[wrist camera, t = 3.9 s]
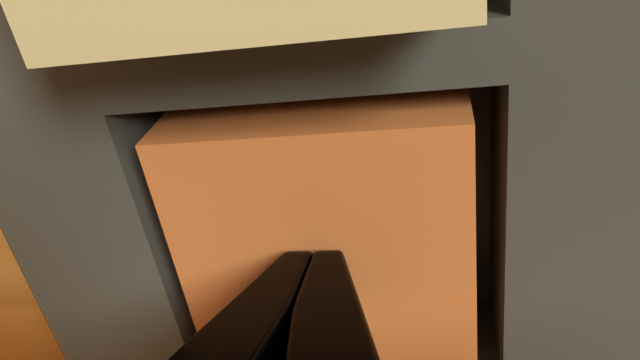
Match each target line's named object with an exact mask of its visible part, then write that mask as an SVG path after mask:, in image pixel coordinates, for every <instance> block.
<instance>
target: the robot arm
mask: <svg viewBox="0 0 640 360" xmlns="http://www.w3.org/2000/svg"><path fill="white" fill-rule="evenodd" d="M167 360H380V358H379V355H378V352H377V349H376V346H375V343H374V340H373V337H372V335H371V332H370V329H369V326H368V323H367V320H366V317H365V314H364V312H363V309H362V306H361V303H360V300H359V297H358V294H357V291H356V288H355V286H354V283H353V280H352V277H351V274H350V271H349V268H348V265H347V263H346V260H345V257H344V254H343V252H342V251H340V250H319V251H316V252H314V254H313V253H312V252H311V251H287V252H285V253H283V254H282V255H281V256H280V257H278V258H277V259H276V260H275V261H274V262H273V263H272V264H271V265H270V266H269V267H268V268H266V269H265V270H264V271H263V272H262V273H261V274H260V275H259V276H258V277H257V278H255V279H254V280H253V281H252V282H251V283H250V284H249V285H248V286H247V287H246V288H245V289H243V290H242V291H241V292H240V293H239V294H238V295H237V296H236V297H235V298H234V299H233V300H231V301H230V302H229V303H228V304H227V305H226V306H225V307H224V308H223V309H222V310H221V311H219V312H218V313H217V314H216V315H215V316H214V317H213V318H212V319H211V320H210V321H209V322H207V323H206V324H205V325H204V326H203V327H202V328H201V329H200V330H199V331H198V332H197V333H195V334H194V335H193V336H192V337H191V338H190V339H189V340H188V341H187V342H186V343H185V344H183V345H182V346H181V347H180V348H179V349H178V350H177V351H176V352H175V353H174V354H173V355H171V356H170V357H169V358H168V359H167Z"/></svg>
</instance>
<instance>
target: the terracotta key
mask: <svg viewBox="0 0 640 360" xmlns="http://www.w3.org/2000/svg"><path fill="white" fill-rule="evenodd" d="M135 148H136V151H137V154H138V157H139V160H140V163H141V166H142V169H143V172H144V175H145V178H146V181H147V184H148V187H149V190H150V193H151V196H152V199H153V202H154V205H155V208H156V211H157V214H158V217H159V220H160V223H161V226H162V229H163V232H164V235H165V238H166V241H167V244H168V247H169V250H170V253H171V256H172V259H173V262H174V265H175V268H176V271H177V274H178V277H179V280H180V283H181V286H182V289H183V292H184V295H185V298H186V301H187V304H188V307H189V310H190V313H191V316H192V319H193V322H194V325H195V328H196V331H197V332H198V331H199V330H200V329H201V328H202V327H203V326H204V325H205V324H206V323H207V322H209V321H210V320H211V319H212V318H213V317H214V316H215V315H216V314H217V313H218V312H219V311H221V310H222V309H223V308H224V307H225V306H226V305H227V304H228V303H229V302H230V301H231V300H233V299H234V298H235V297H236V296H237V295H238V294H239V293H240V292H241V291H242V290H243V289H245V288H246V287H247V286H248V285H249V284H250V283H251V282H252V281H253V280H254V279H255V278H257V277H258V276H259V275H260V274H261V273H262V272H263V271H264V270H265V269H266V268H268V267H269V266H270V265H271V264H272V263H273V262H274V261H275V260H276V259H277V258H278V257H280V256H281V255H282V254H283V253H285V252H287V251H311V252H312V253H313V254H314V252H316V251H319V250H340V251H342V252H343V254H344V257H345V260H346V263H347V265H348V268H349V271H350V274H351V277H352V280H353V283H354V286H355V288H356V291H357V294H358V297H359V300H360V303H361V306H362V309H363V312H364V314H365V317H366V320H367V323H368V326H369V329H370V332H371V335H372V337H373V340H374V343H375V346H376V349H377V352H378V355H379V358H380V360H477V273H476V173H475V122H474V116H473V111H472V106H471V100H470V95H469V90H468V88H461V89H448V90H434V91H421V92H408V93H395V94H382V95H369V96H355V97H342V98H329V99H316V100H303V101H290V102H276V103H263V104H250V105H237V106H224V107H210V108H197V109H184V110H171V111H166V112H165V113H164V114H163V115H162V116H161V118H160V119H159V120H158V121H157V122H156V123H155V124H154V125H153V126H152V128H151V129H150V130H149V131H148V132H147V133H146V134H145V135H144V136H143V138H142V139H141V140H140V141H139V142H138V143H137V144H136V145H135Z"/></svg>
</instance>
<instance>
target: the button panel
mask: <svg viewBox="0 0 640 360" xmlns="http://www.w3.org/2000/svg"><path fill="white" fill-rule="evenodd" d="M461 88H468V90H469V95H470V100H471V106H472V111H473V116H474V122H475V173H476V273H477V360H640V0H487V25H482V26H472V27H462V28H451V29H441V30H430V31H420V32H409V33H399V34H389V35H378V36H368V37H357V38H347V39H336V40H326V41H315V42H305V43H295V44H284V45H274V46H263V47H253V48H242V49H232V50H221V51H211V52H201V53H190V54H180V55H169V56H159V57H148V58H138V59H127V60H117V61H107V62H96V63H86V64H75V65H65V66H54V67H44V68H33V69H27V67H26V65H25V63H24V60H23V58H22V55H21V53H20V50H19V48H18V45H17V43H16V40H15V38H14V35H13V33H12V30H11V28H10V25H9V23H8V21H7V18H6V16H5V13H4V11H3V8H2V6H1V3H0V228H1V230H2V232H3V234H4V236H5V238H6V240H7V242H8V244H9V246H10V248H11V250H12V252H13V254H14V256H15V258H16V260H17V262H18V264H19V267H20V269H21V271H22V273H23V275H24V277H25V279H26V281H27V283H28V285H29V287H30V289H31V291H32V293H33V295H34V297H35V299H36V301H37V303H38V305H39V307H40V309H41V311H42V313H43V315H44V317H45V319H46V321H47V323H48V325H49V327H50V329H51V331H52V333H53V335H54V337H55V339H56V341H57V343H58V345H59V347H60V349H61V351H62V353H63V355H64V357H65V359H66V360H167V359H168V358H169V357H170V356H171V355H173V354H174V353H175V352H176V351H177V350H178V349H179V348H180V347H181V346H182V345H183V344H185V343H186V342H187V341H188V340H189V339H190V338H191V337H192V336H193V335H194V334H195V333H197V331H196V328H195V325H194V322H193V319H192V316H191V313H190V310H189V307H188V304H187V301H186V298H185V295H184V292H183V289H182V286H181V283H180V280H179V277H178V274H177V271H176V268H175V265H174V262H173V259H172V256H171V253H170V250H169V247H168V244H167V241H166V238H165V235H164V232H163V229H162V226H161V223H160V220H159V217H158V214H157V211H156V208H155V205H154V202H153V199H152V196H151V193H150V190H149V187H148V184H147V181H146V178H145V175H144V172H143V169H142V166H141V163H140V160H139V157H138V154H137V151H136V148H135V145H136V144H137V143H138V142H139V141H140V140H141V139H142V138H143V136H144V135H145V134H146V133H147V132H148V131H149V130H150V129H151V128H152V126H153V125H154V124H155V123H156V122H157V121H158V120H159V119H160V118H161V116H162V115H163V114H164V113H165V112H166V111H171V110H184V109H197V108H210V107H224V106H237V105H250V104H263V103H276V102H290V101H303V100H316V99H329V98H342V97H355V96H369V95H382V94H395V93H408V92H421V91H434V90H448V89H461Z"/></svg>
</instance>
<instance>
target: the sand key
mask: <svg viewBox="0 0 640 360" xmlns="http://www.w3.org/2000/svg"><path fill="white" fill-rule="evenodd" d="M0 3H1V6H2V8H3V11H4V13H5V16H6V18H7V21H8V23H9V25H10V28H11V30H12V33H13V35H14V38H15V40H16V43H17V45H18V48H19V50H20V53H21V55H22V58H23V60H24V63H25V65H26V67H27V69H33V68H44V67H54V66H65V65H75V64H86V63H96V62H107V61H117V60H127V59H138V58H148V57H159V56H169V55H180V54H190V53H201V52H211V51H221V50H232V49H242V48H253V47H263V46H274V45H284V44H295V43H305V42H315V41H326V40H336V39H347V38H357V37H368V36H378V35H389V34H399V33H409V32H420V31H430V30H441V29H451V28H462V27H472V26H482V25H487V0H0Z"/></svg>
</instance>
